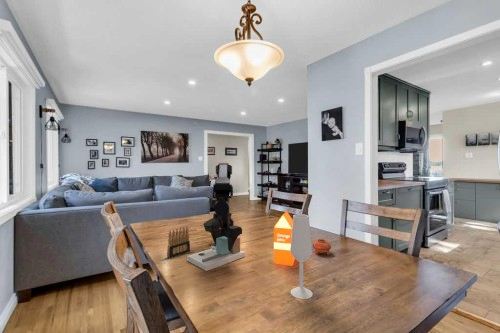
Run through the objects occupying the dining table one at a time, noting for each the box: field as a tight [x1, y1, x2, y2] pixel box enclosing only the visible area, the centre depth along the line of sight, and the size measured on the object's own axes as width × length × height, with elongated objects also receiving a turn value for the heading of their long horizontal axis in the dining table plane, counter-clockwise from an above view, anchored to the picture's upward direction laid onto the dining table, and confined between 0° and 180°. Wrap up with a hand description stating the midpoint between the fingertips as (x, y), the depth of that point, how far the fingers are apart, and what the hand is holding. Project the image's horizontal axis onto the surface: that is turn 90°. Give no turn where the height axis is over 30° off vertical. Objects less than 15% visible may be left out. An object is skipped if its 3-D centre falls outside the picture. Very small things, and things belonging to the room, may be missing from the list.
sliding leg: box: [210, 236, 230, 255], centre depth 102 cm, size 4×10×7 cm, turn 45°
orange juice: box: [273, 210, 296, 267], centre depth 99 cm, size 8×9×20 cm
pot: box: [312, 238, 332, 256], centre depth 107 cm, size 8×8×7 cm
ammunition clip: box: [166, 225, 191, 259], centre depth 106 cm, size 11×2×12 cm, turn 141°
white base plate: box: [186, 236, 246, 272], centre depth 101 cm, size 20×14×8 cm
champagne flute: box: [290, 213, 313, 300], centre depth 74 cm, size 7×7×24 cm
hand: (222, 247), depth 100 cm, fingers open, 9 cm apart
